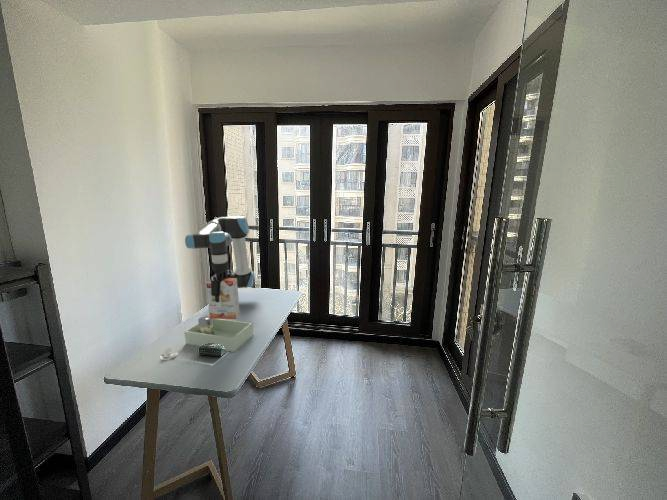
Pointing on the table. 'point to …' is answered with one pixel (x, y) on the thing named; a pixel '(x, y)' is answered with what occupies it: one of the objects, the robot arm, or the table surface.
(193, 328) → the tote
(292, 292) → the table surface
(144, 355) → the table surface
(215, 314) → the cracker box
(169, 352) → the white curved piece
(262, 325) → the table surface
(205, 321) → the can
